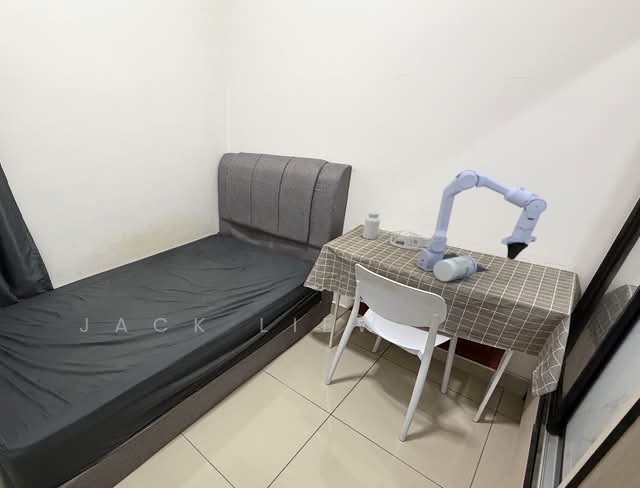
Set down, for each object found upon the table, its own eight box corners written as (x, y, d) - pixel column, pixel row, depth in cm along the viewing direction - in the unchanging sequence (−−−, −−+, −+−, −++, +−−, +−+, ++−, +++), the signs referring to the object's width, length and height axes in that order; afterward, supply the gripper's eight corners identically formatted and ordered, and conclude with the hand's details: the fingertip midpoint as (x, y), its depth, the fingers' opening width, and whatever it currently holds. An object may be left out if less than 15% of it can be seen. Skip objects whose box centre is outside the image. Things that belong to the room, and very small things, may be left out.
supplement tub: (473, 279, 133) (449, 286, 129) (453, 270, 141) (430, 276, 137) (481, 259, 128) (456, 265, 124) (460, 251, 136) (436, 257, 132)
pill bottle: (363, 239, 179) (368, 214, 172) (361, 234, 186) (365, 210, 179) (377, 240, 178) (383, 215, 171) (374, 235, 185) (379, 211, 177)
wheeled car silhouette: (432, 248, 165) (436, 235, 161) (424, 254, 158) (428, 240, 155) (396, 239, 178) (399, 227, 175) (387, 244, 172) (390, 231, 168)
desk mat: (457, 273, 138) (457, 273, 138) (426, 256, 156) (426, 256, 156) (487, 270, 141) (487, 269, 141) (453, 253, 158) (453, 253, 158)
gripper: (519, 232, 116) (504, 264, 122) (550, 229, 118) (534, 260, 125) (502, 226, 122) (489, 257, 129) (532, 224, 124) (517, 254, 131)
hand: (510, 258), depth 127 cm, fingers closed
